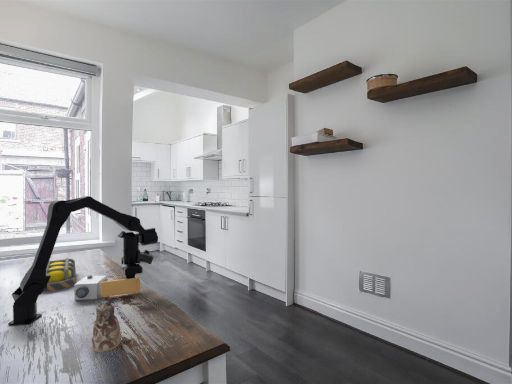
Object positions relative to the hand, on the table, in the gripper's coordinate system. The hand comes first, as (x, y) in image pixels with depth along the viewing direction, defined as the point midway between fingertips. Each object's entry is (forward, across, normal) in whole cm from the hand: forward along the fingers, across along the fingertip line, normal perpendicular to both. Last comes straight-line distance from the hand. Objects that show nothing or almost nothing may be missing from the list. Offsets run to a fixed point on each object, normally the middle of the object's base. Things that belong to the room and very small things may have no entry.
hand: (131, 285), depth 121 cm
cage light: (+5, +33, +28) cm, 44 cm away
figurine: (+2, -40, +10) cm, 41 cm away
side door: (+2, -2, +5) cm, 6 cm away
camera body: (+3, +5, +14) cm, 15 cm away
